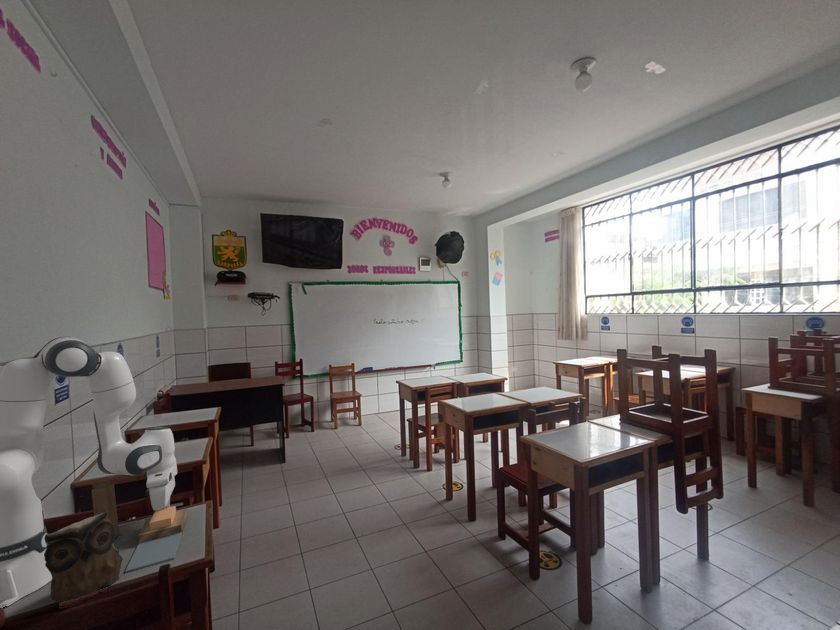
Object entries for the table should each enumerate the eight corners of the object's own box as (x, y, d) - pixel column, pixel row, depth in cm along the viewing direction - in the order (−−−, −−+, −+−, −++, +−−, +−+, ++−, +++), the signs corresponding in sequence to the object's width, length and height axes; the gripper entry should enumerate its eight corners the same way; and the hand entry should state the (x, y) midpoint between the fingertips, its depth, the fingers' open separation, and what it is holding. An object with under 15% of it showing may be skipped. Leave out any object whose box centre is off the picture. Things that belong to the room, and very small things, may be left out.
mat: (125, 572, 113) (125, 571, 113) (138, 544, 126) (138, 543, 126) (174, 558, 117) (173, 557, 117) (182, 533, 131) (181, 531, 131)
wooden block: (81, 546, 128) (75, 492, 128) (90, 538, 133) (84, 486, 132) (112, 541, 130) (106, 487, 129) (119, 533, 134) (114, 481, 134)
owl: (127, 575, 112) (119, 505, 111) (90, 609, 99) (81, 531, 98) (81, 579, 111) (74, 510, 111) (39, 614, 99) (30, 536, 98)
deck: (138, 544, 126) (138, 535, 126) (147, 526, 138) (147, 518, 137) (182, 533, 131) (181, 524, 131) (187, 516, 142) (186, 508, 142)
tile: (150, 530, 129) (149, 523, 129) (156, 517, 137) (155, 510, 137) (171, 525, 131) (170, 517, 131) (176, 512, 140) (175, 505, 140)
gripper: (158, 464, 148) (161, 500, 148) (144, 485, 129) (149, 526, 129) (177, 460, 150) (181, 495, 151) (167, 480, 131) (171, 521, 132)
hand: (166, 510), depth 140 cm, fingers closed
